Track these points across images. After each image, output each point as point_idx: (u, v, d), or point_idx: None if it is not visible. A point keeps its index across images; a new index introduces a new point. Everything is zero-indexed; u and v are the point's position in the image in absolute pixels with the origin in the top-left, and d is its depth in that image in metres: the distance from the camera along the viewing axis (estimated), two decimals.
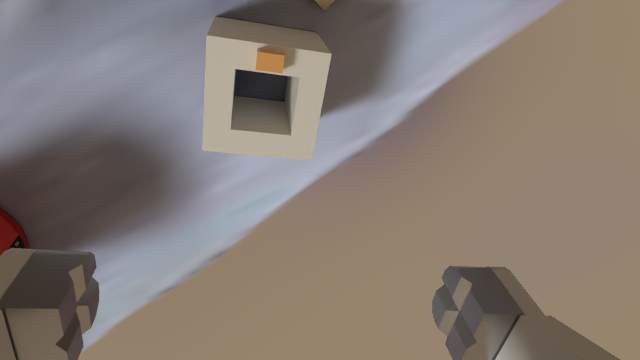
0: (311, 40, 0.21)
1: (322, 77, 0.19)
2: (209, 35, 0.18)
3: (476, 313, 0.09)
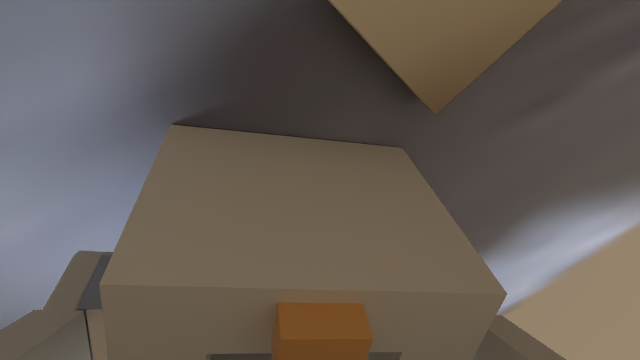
0: (412, 201, 0.08)
1: (466, 344, 0.07)
2: (110, 281, 0.05)
3: None
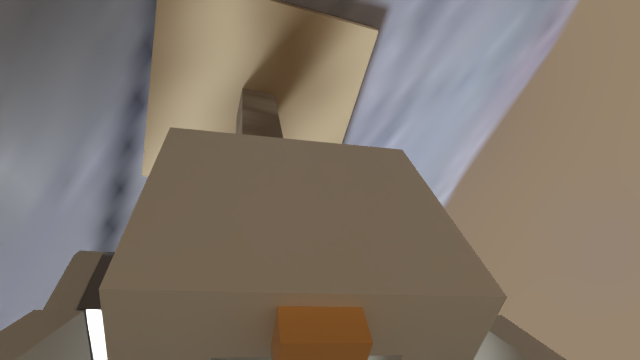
0: (412, 204, 0.08)
1: (466, 347, 0.07)
2: (109, 286, 0.05)
3: None
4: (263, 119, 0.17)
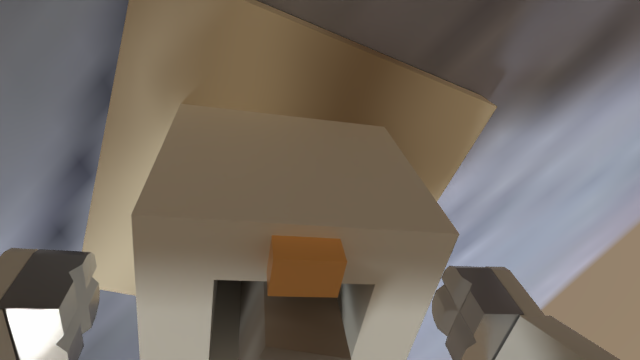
0: (388, 167, 0.09)
1: (428, 279, 0.08)
2: (139, 213, 0.06)
3: (476, 313, 0.09)
4: None
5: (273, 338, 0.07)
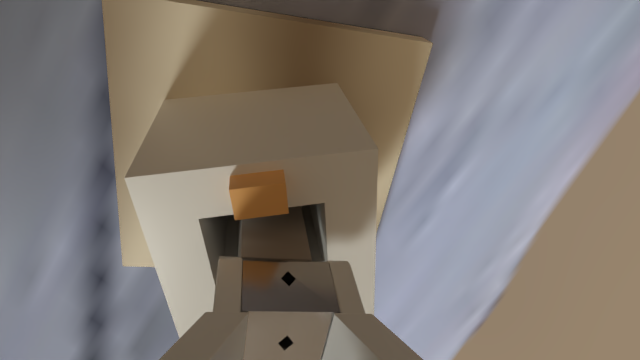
0: (331, 112, 0.11)
1: (367, 191, 0.10)
2: (130, 176, 0.09)
3: None
4: None
5: (247, 252, 0.09)
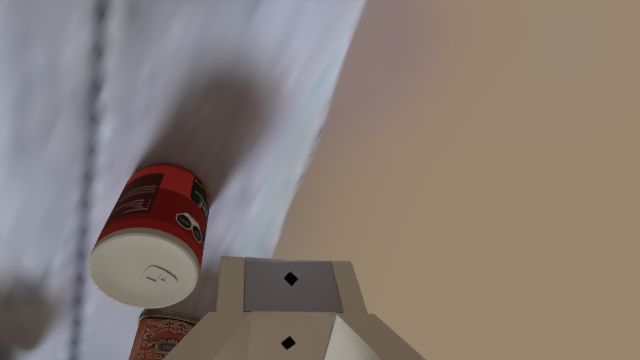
0: None
1: None
2: None
3: None
4: None
5: None
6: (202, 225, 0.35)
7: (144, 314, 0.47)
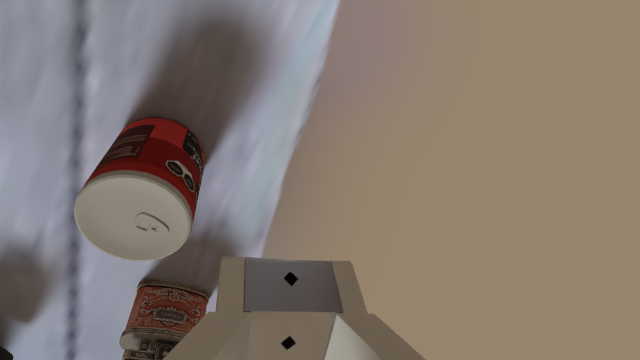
0: None
1: None
2: None
3: None
4: None
5: None
6: (195, 176, 0.33)
7: (142, 283, 0.45)
